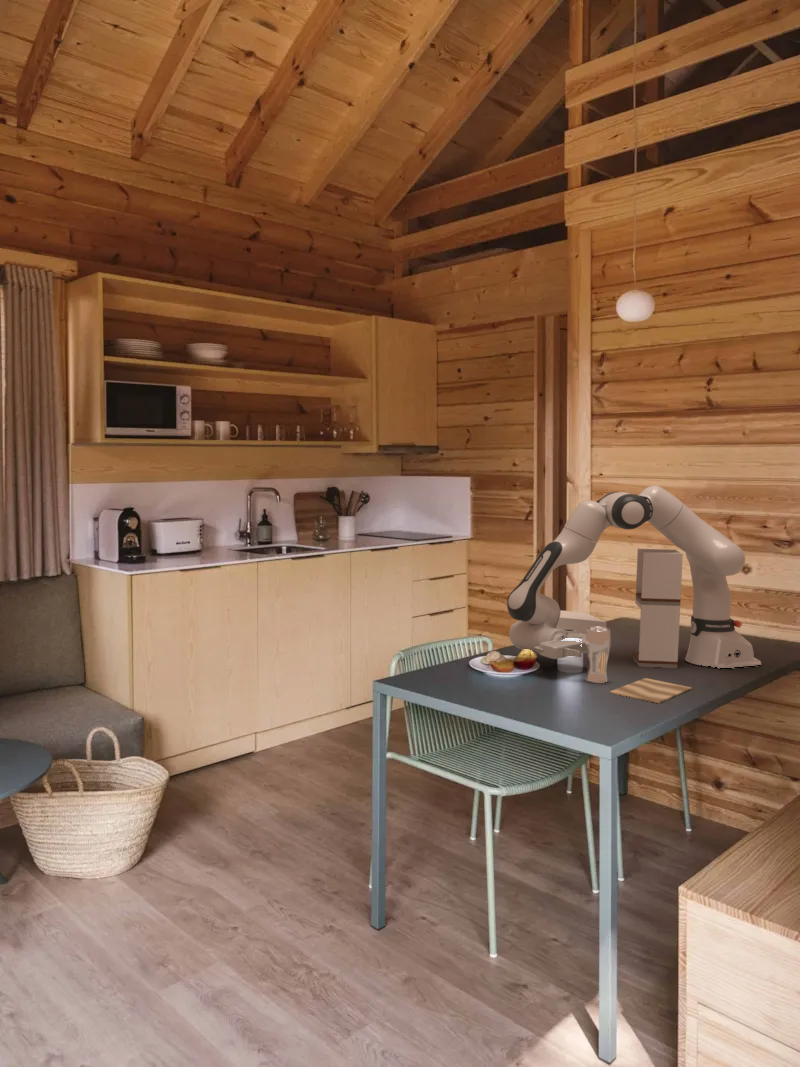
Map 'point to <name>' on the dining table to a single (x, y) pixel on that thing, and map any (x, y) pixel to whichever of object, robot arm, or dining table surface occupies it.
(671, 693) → the placemat
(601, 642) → the beer glass
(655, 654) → the stacked tan pillar
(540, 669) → the dining table surface
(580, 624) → the tan angular block
